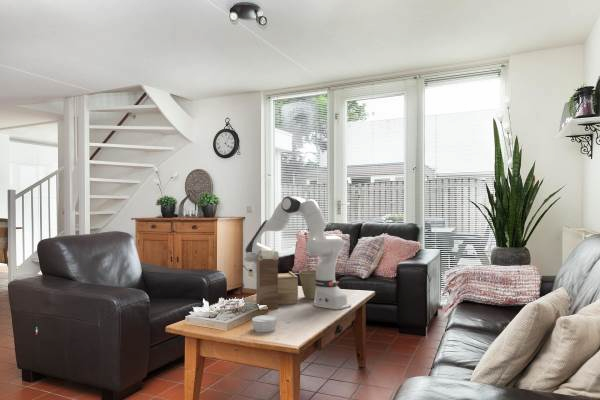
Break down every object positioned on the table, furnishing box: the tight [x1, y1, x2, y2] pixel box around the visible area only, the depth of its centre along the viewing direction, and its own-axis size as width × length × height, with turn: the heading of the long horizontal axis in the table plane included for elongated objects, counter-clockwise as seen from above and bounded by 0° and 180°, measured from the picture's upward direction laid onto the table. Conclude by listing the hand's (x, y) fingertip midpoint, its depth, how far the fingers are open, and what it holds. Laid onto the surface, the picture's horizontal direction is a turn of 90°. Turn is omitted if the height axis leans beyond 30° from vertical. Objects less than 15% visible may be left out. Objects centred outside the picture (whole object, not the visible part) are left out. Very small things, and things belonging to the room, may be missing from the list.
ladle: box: [260, 248, 275, 259], centre depth 240 cm, size 25×6×4 cm, turn 13°
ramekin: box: [251, 314, 277, 333], centre depth 192 cm, size 11×11×5 cm
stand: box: [256, 256, 299, 311], centre depth 247 cm, size 33×24×28 cm
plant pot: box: [298, 269, 316, 300], centre depth 260 cm, size 15×15×16 cm
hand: (263, 251), depth 249 cm, fingers closed on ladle, 3 cm apart
